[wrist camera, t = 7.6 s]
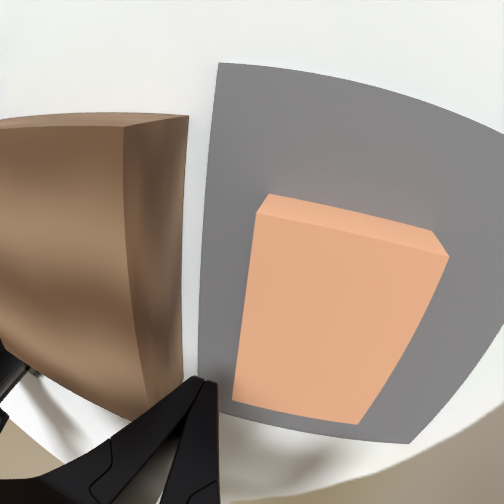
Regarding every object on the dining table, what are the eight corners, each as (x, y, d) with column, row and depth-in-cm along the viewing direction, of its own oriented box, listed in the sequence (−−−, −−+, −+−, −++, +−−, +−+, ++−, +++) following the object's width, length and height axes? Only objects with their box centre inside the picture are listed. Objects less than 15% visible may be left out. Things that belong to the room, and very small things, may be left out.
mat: (408, 440, 16) (409, 443, 16) (199, 401, 18) (197, 405, 18) (562, 168, 7) (566, 170, 7) (221, 63, 9) (218, 62, 9)
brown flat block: (183, 378, 17) (155, 431, 14) (39, 316, 19) (5, 349, 15) (188, 115, 10) (124, 126, 7) (4, 118, 12) (-51, 135, 9)
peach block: (231, 399, 13) (242, 369, 15) (357, 424, 12) (357, 393, 14) (256, 212, 9) (268, 193, 11) (449, 256, 8) (432, 231, 10)
